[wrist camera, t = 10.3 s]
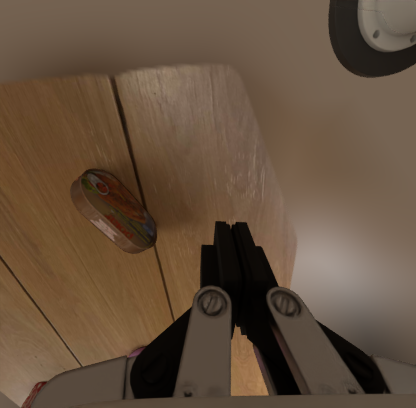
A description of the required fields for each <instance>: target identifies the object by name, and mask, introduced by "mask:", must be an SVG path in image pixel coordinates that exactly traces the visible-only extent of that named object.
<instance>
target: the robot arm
mask: <svg viewBox="0 0 416 408" xmlns="http://www.w3.org/2000/svg"><path fill="white" fill-rule="evenodd" d="M357 14H358V25H359V28H360V32H361V34H362V36H363V38H364V40H365V41H366V43H367V44H368V45H369V46H370V47H372V48H373V49H375V50H377V51H381V52H395V51H399V50H402V49H405V48H408V47H411V46H412V45H414V44H416V0H358V13H357ZM235 323H236V326H237V327H240V329H241V335H247V339H249V340H250V341H251V342H252V343H253V349H254V353H255V355H256V358H257V361H258V364H259V367H260V370H261V373H262V376H263V379H264V382H265V385H266V387H267V390H268V393H269V396H231V339H232V338H233V333H234V328H235ZM30 408H416V365H413V364H410V363H406V362H402V361H397V360H394V359H390V358H385V357H381V356H378V355H373V354H372V355H371V356H370V357H369V356H367V355H366V354H365V353H364V352H363V351H361V350H360V349H358V348H357V347H356V346H354V345H353V344H351V343H350V342H348V341H346V340H345V339H344V338H342V337H341V336H339V335H338V334H336V333H335V332H333V331H332V330H330V329H329V328H327V327H326V326H324V325H323V324H321V323H320V322H318V321H317V320H315V319H314V317H313V315H312V314H311V313H310V311H309V309H308V308H307V306H306V305H305V304H304V302H303V301H302V299H301V298H300V297H299V296H298V295H297V294H296V293H295V292H293V291H291V290H289V289H287V288H284V287H279V286H278V283H277V281H276V279H275V276H274V274H273V272H272V269H271V267H270V265H269V262H268V260H267V258H266V255H265V253H264V251H263V249H262V247H261V246H255V243H254V241H253V238H252V236H251V233H250V230H249V228H248V225H247V223H246V222H236V223H235V225H233V224H232V227H231V228H230V225H229V224H226V222H221V221H216V223H215V233H214V243H213V245H202V246H201V267H200V290H198V292H197V293H196V294H195V296H194V299H193V304H192V307H191V308H190V309H188V310H187V311H186V312H185V313H184V314H183V315H182V316H181V317H179V318H178V319H177V320H176V321H175V322H174V323H173V324H171V325H170V326H169V327H168V328H167V329H166V330H165V331H164V332H162V333H161V334H160V335H159V336H158V337H157V338H156V339H155V340H153V341H152V342H151V343H150V344H149V345H148V346H147V347H146V348H144V349H143V350H142V351H141V352H140V354H139V355H136V356H132V357H128V358H127V355H125V356H122V357H118V358H114V359H110V360H107V361H103V362H99V363H95V364H91V365H88V366H84V367H80V368H76V369H73V370H69V371H65V372H63V373H61V374H58V375H56V376H55V377H53V378H52V379H51V380H49V381H48V382H47V383H46V384H45V385H44V386H43V387H42V388H41V390H40V391H39V392H38V393H37V395H36V397H35V399H34V401H33V402H32V404H31V407H30Z"/></svg>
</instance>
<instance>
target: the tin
mask: <svg viewBox="0 0 416 408" xmlns="http://www.w3.org/2000/svg"><path fill="white" fill-rule="evenodd" d="M70 194H71V198H72V201H73V203H74V205H75V207H76V208H77V210H78V211H79V212H80V213H81V214H82V215H83V216H84V217H85V218H86V219H88V220H89V221H90V222H91V223H92V224H93V225H94V226H96V227H97V228H98V229H99V230H100V231H101V232H102V233H103V234H105V235H106V236H107V237H108V238H109V239H110V240H111V241H112V242H114V243H115V244H116V245H117V246H118V247H119V248H120V249H122V250H123V251H125V252H128V253H132V254H136V253H140V252H142V251H144V250H146V249H149V248H151V247H153V246H154V244H155V243H156V240H157V231H156V226H155V223H154V221H153V219H152V218H151V216H150V215H149V213H148V212H147V211H146V210H145V209H144V208H143V207H142V206H141V205H140V204H139V202H138V201H137V200H136V199H135V198H134V197H133V196H132V195H131V194H130V193H129V192H128V190H127V189H126V188H125V187H124V186H123V185H122V184H121V183H120V182H119V181H118V180H117V179H116V178H115V177H114V176H112V175H111V174H109V173H107V172H105V171H103V170H100V169H89V170H86V171H85V172H84V173H83V174H82V175H81V176H80V177H78V178H77V179H76V180H75V181H74V182H73V184H72V186H71V190H70Z"/></svg>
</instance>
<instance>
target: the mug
mask: <svg viewBox="0 0 416 408" xmlns="http://www.w3.org/2000/svg"><path fill="white" fill-rule="evenodd" d="M46 383H47V382H40V383H37V384H36V385H35V386H34V388H33V389H32V391H31V393H30V394H29V396H28V397H27V399H26V400H25V402H24V404H23V405H22V407H21V408H30V407H31V404H32V402H33V401H34V399H35V397H36V395H37V393H38V392H39V391H40V390H41V388H42V387H43V386H44V385H45V384H46Z"/></svg>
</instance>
